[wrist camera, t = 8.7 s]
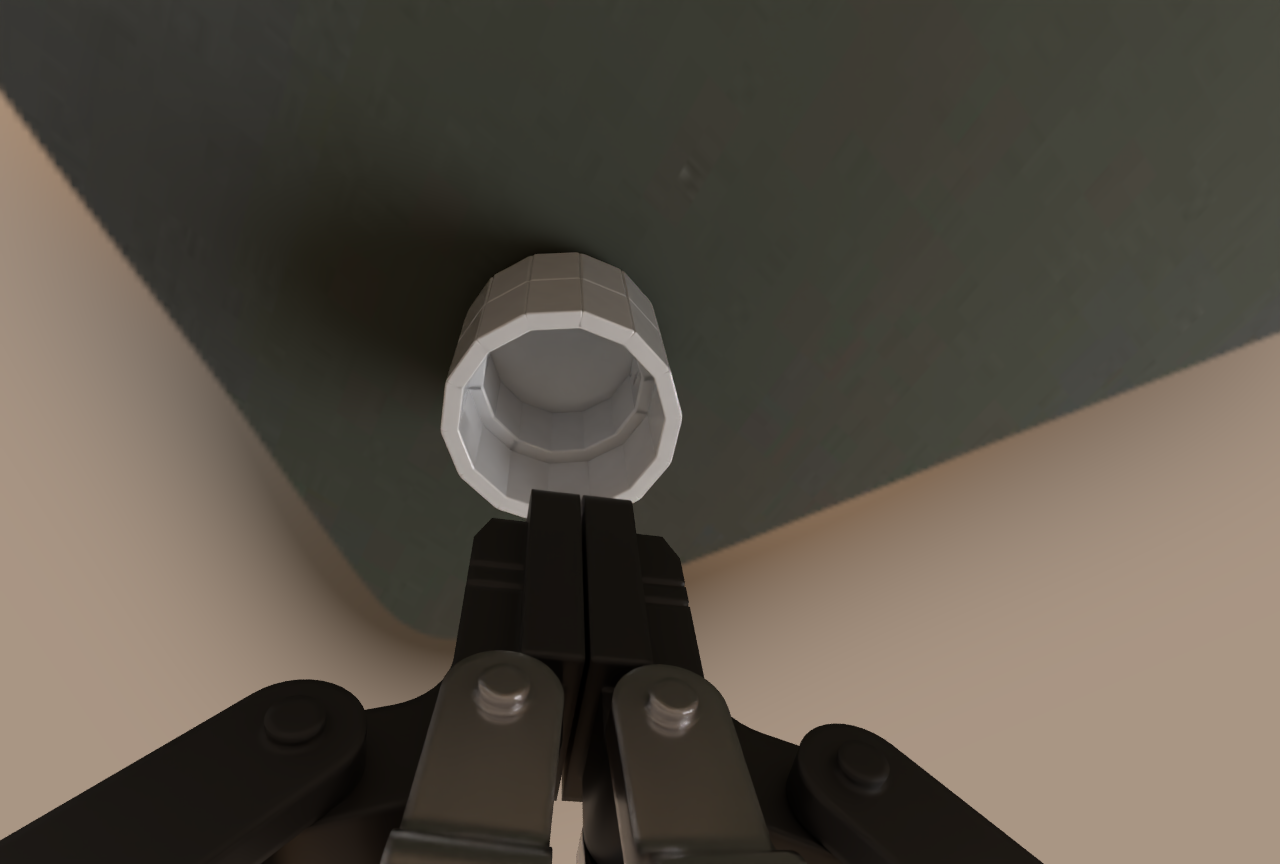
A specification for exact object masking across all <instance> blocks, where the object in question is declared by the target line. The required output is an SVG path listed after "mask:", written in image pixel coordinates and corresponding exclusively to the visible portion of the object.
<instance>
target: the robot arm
mask: <svg viewBox="0 0 1280 864" xmlns="http://www.w3.org/2000/svg"><path fill="white" fill-rule="evenodd" d="M684 584H685V581H684V576H683V572H682V566H681V561H680V558H679V557H678V556H677V555H676V553H675V552H674V551H673V550H672V548H671V547H670V546H669V545H668V543H667V542H666V541H665V540H664V538H663V537H659V536H650V535H641V534H636V528H635V521H634V513H633V505H632V501H631V500H624V499H616V498H607V497H599V496H590V495H583V496H582V499H581V500H580V494H572V493H563V492H555V491H546V490H538V489H532V490H531V495H530V501H529V507H528V514H527V521H526V522H523V521H514V520H505V519H496V518H492V519H491V520H490V521H489V522H488V523H487V524H486V525H485V526H484V527H483V528H482V529H481V530H480V531H479V532H478V533H477V534H476V535H475V537H474V541H473V547H472V553H471V559H470V565H469V571H468V576H467V583H466V588H465V594H464V600H463V606H462V612H461V618H460V624H459V630H458V636H457V642H456V648H455V654H454V659H453V663H452V666H451V668H450V670H449V671H448V672H447V674H446V675H445V677H444V679H443V680H442V681H441V682H440V683H439V684H438V685H437V686H435V687H434V688H433V689H431V690H430V691H428V692H427V693H425V694H423V695H421V696H419V697H417V698H415V699H412V700H409V701H406V702H403V703H399V704H395V705H390V706H384V707H379V708H374V709H367V710H364V708H363V706H362V705H361V703H360V702H359V700H358V699H357V698H356V697H355V696H354V695H353V694H352V693H351V692H349V691H347V690H345V689H344V688H343V687H340V686H338V685H335V684H333V683H329V682H325V681H319V680H291V681H285V682H281V683H277V684H273V685H271V686H268V687H265V688H263V689H261V690H259V691H257V692H255V693H253V694H251V695H249V696H248V697H246V698H244V699H243V700H241V701H239V702H237V703H236V704H234V705H232V706H230V707H229V708H227V709H225V710H224V711H222V712H220V713H218V714H217V715H215V716H213V717H212V718H210V719H208V720H206V721H205V722H203V723H201V724H199V725H198V726H196V727H194V728H193V729H191V730H189V731H187V732H186V733H184V734H182V735H181V736H179V737H177V738H176V739H174V740H172V741H170V742H169V743H167V744H165V745H163V746H162V747H160V748H159V749H157V750H155V751H153V752H151V753H150V754H148V755H146V756H144V757H143V758H141V759H139V760H138V761H136V762H134V763H133V764H131V765H129V766H128V767H126V768H124V769H122V770H121V771H119V772H117V773H116V774H114V775H112V776H110V777H108V778H107V779H105V780H103V781H102V782H100V783H98V784H96V785H95V786H93V787H91V788H90V789H88V790H86V791H84V792H83V793H81V794H79V795H78V796H76V797H74V798H72V799H71V800H69V801H67V802H66V803H64V804H62V805H60V806H59V807H57V808H55V809H54V810H52V811H50V812H48V813H47V814H45V815H43V816H42V817H40V818H38V819H36V820H35V821H33V822H31V823H29V824H28V825H26V826H25V827H23V828H21V829H19V830H18V831H16V832H14V833H12V834H11V835H9V836H7V837H5V838H4V839H2V840H0V864H552V847H549V844H550V833H551V823H552V813H553V804H554V801H556V800H557V795H558V790H559V785H560V780H561V776H562V801H577V802H583V828H582V833H581V837H580V842H579V846H578V851H577V856H576V861H577V864H1043V863H1042V862H1041V861H1040V860H1038V859H1037V858H1036V857H1034V856H1033V855H1032V854H1031V853H1029V852H1028V851H1027V850H1026V849H1024V848H1023V847H1022V846H1020V845H1019V844H1018V843H1017V842H1015V841H1014V840H1013V839H1011V838H1010V837H1009V836H1008V835H1006V834H1005V833H1004V832H1003V831H1001V830H1000V829H999V828H997V827H996V826H995V825H994V824H992V823H991V822H990V821H988V820H987V819H986V818H985V817H983V816H982V815H981V814H980V813H978V812H977V811H976V810H974V809H973V808H972V807H971V806H969V805H968V804H967V803H966V802H964V801H963V800H962V799H961V798H959V797H958V796H957V795H955V794H954V793H953V792H952V791H950V790H949V789H948V788H946V787H945V786H944V785H943V784H941V783H940V782H939V781H938V780H936V779H935V778H934V777H932V776H931V775H930V774H929V773H927V772H926V771H925V770H924V769H922V768H921V767H920V766H918V765H917V764H916V763H915V762H913V761H912V760H911V759H909V758H908V757H907V756H906V755H904V754H903V753H902V752H900V751H899V750H898V749H897V748H895V747H894V746H893V745H892V744H890V743H889V742H887V741H886V740H884V739H883V738H881V737H879V736H878V735H876V734H874V733H872V732H870V731H867V730H865V729H863V728H859V727H856V726H852V725H846V724H826V725H823V726H819V727H816V728H814V729H813V730H811V731H810V732H808V733H807V734H806V735H805V736H804V738H803V739H802V741H801V743H800V746H798V745H795V744H792V743H789V742H786V741H783V740H780V739H778V738H775V737H772V736H769V735H766V734H763V733H760V732H758V731H755V730H753V729H751V728H749V727H747V726H745V725H743V724H741V723H739V722H738V721H737V720H735V719H734V718H732V717H731V715H730V712H729V709H728V706H727V704H726V702H725V700H724V698H723V697H722V695H721V694H720V692H719V691H718V690H717V689H716V688H715V687H714V686H713V685H712V684H711V683H710V682H708V681H707V680H706V679H704V675H703V670H702V665H701V660H700V655H699V650H698V645H697V640H696V635H695V631H694V625H693V620H692V616H691V611H690V607H688V603H689V601H688V596H687V591H686V587H684Z"/></svg>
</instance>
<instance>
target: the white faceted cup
mask: <svg viewBox="0 0 1280 864" xmlns="http://www.w3.org/2000/svg"><path fill="white" fill-rule="evenodd" d="M681 422H682V412H681V408H680V404H679V400H678V396H677V392H676V389H675V385H674V381H673V377H672V373H671V369H670V366H669V362H668V359H667V355H666V351H665V348H664V344H663V341H662V337H661V333H660V330H659V326H658V322H657V319H656V315H655V311H654V308H653V305H652V304H651V301H650V300H649V299H648V298H647V297H646V296H645V295H644V293H643V292H642V291H641V290H640V289H639V288H638V287H637V286H636V284H635V283H634V282H633V281H632V280H631V279H630V278H629V277H628V275H627V274H626V273H625V272H623V271H621V270H620V269H619V268H616V267H614V266H612V265H609V264H607V263H604V262H602V261H599V260H597V259H595V258H592V257H590V256H587V255H585V254H579V253H577V252H572V253H550V254H535V255H533V256H529V257H527V258H525V259H523V260H521V261H519V262H518V263H516V264H514V265H512V266H510V267H508V268H506V269H505V270H503V271H501V272H499V273H497V274H495V275H494V276H493V277H492V278H490V279H489V281H488V282H487V284H486V285H485V287H484V288H483V290H482V291H481V293H480V294H479V295H478V297H477V298H476V300H475V301H474V303H473V304H472V306H471V307H470V308H469V310H468V313H467V315H466V318H465V321H464V324H463V328H462V331H461V334H460V337H459V340H458V344H457V347H456V350H455V353H454V356H453V360H452V363H451V366H450V369H449V373H448V376H447V379H446V382H445V389H444V398H443V408H442V417H441V426H440V429H441V434H442V436H443V439H444V441H445V444H446V446H447V448H448V451H449V453H450V455H451V458H452V460H453V463H454V465H455V467H456V470H457V472H458V474H459V475H460V477H461V478H462V479H463V480H464V481H466V482H467V483H468V484H469V485H470V486H471V487H472V488H473V489H475V490H476V491H477V492H478V493H479V494H480V495H481V496H483V497H484V498H485V499H486V500H487V501H488V502H489V503H491V504H492V505H493V506H494V507H495V508H497V509H499V510H502V511H505V512H508V513H511V514H514V515H517V516H521V517H524V518H527V514H528V507H529V501H530V495H531V490H532V489H538V490H546V491H555V492H563V493H572V494H580V500H581V499H582V496H583V495H590V496H599V497H607V498H616V499H624V500H631V501H632V503H634V502H636V501H638V500H639V499H641V498H642V497H643V495H644V494H645V493H646V492H647V491H648V489H649V488H650V487H651V486H652V485H653V484H654V482H655V481H656V480H657V479H658V478H659V477H660V475H661V474H662V473H663V472H664V471H665V470H666V468H667V467H668V466H669V465H670V462H671V461H672V458H673V454H674V450H675V446H676V442H677V438H678V434H679V430H680V426H681Z"/></svg>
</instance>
